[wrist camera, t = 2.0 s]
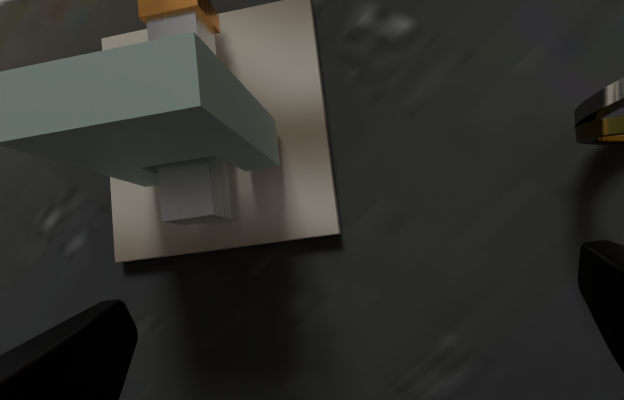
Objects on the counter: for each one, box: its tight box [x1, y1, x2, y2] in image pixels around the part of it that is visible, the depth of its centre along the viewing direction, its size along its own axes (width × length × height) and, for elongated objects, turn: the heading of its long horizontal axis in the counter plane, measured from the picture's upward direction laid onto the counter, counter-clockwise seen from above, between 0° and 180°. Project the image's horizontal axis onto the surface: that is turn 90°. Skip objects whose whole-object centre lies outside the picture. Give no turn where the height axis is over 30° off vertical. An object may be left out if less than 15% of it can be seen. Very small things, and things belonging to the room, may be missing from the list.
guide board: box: [102, 0, 341, 262], centre depth 23 cm, size 10×10×1 cm
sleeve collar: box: [0, 32, 280, 187], centre depth 18 cm, size 3×6×8 cm, turn 96°
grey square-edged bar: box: [138, 0, 234, 226], centre depth 21 cm, size 10×2×4 cm, turn 7°
